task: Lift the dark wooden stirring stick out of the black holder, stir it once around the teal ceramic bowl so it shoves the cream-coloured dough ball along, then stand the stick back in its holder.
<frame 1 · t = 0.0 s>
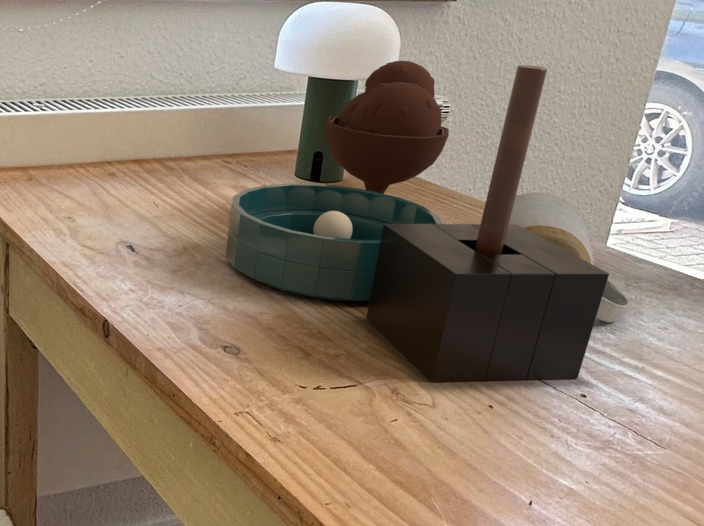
bowl: (325, 269, 71), on the table
stick: (496, 216, 55), in the holder
ceramic mug: (541, 307, 67), on the table
ice cream bowl: (368, 227, 84), on the table
dough ball: (332, 230, 74), point 2 cm above the table, touching bowl
holder: (465, 346, 59), on the table
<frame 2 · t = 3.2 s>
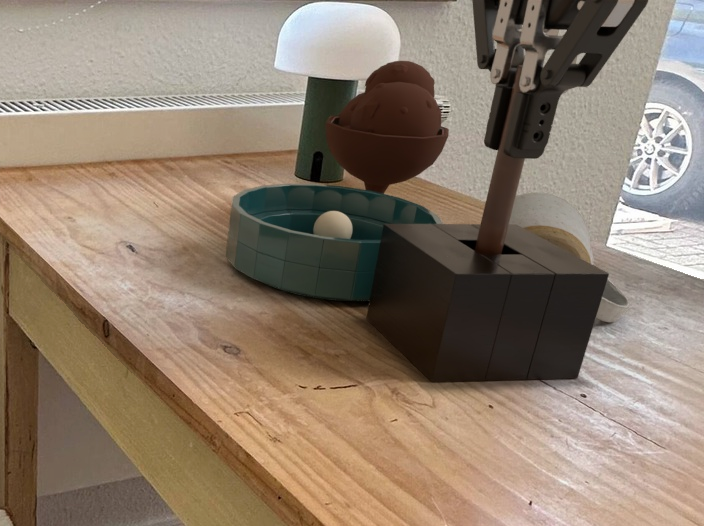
hand: (511, 151, 53), 13 cm above the table, tool pointing down, fingers closed on stick, 1 cm apart
stick: (496, 216, 55), in the holder, touching gripper
everything else where it was.
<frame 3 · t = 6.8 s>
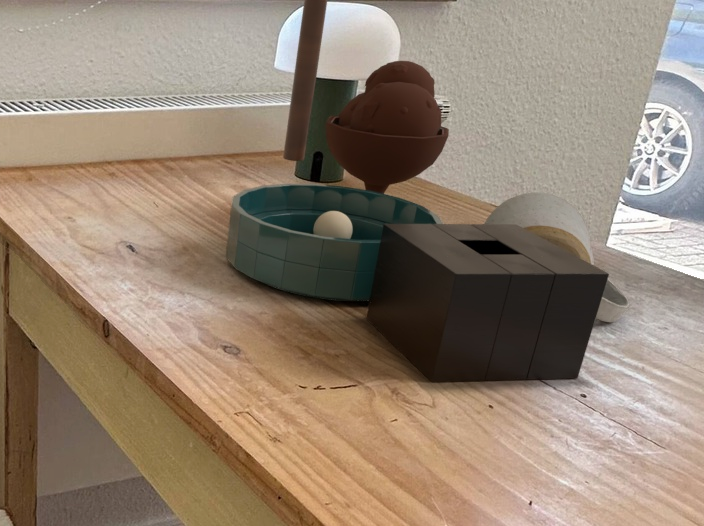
stick: (310, 34, 63), point 18 cm above the table, touching gripper
everything else where it was.
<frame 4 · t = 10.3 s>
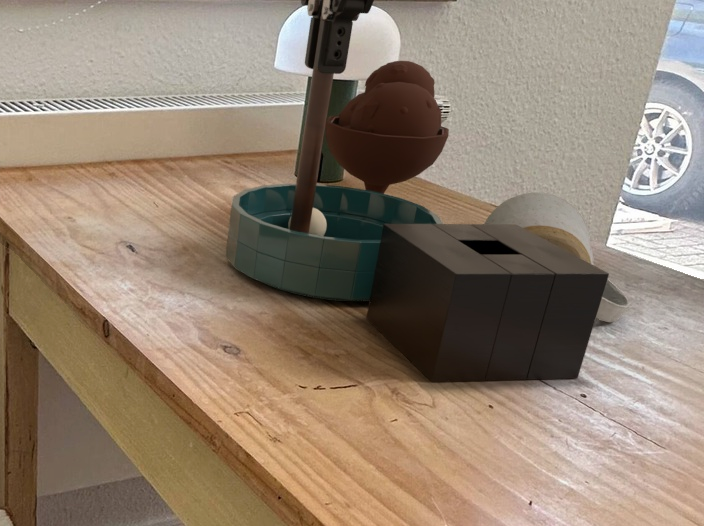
hand: (323, 69, 67), 15 cm above the table, tool pointing down, fingers closed on stick, 1 cm apart
stick: (315, 123, 69), in the bowl, point 11 cm above the table, touching gripper
dough ball: (307, 225, 75), point 2 cm above the table, tilted 40°, touching bowl
everything else where it was.
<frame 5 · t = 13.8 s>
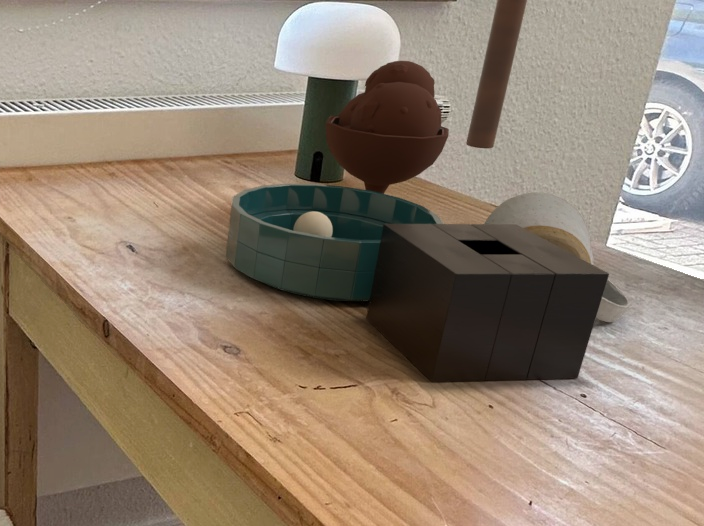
dough ball: (312, 230, 74), point 2 cm above the table, tilted 20°, touching bowl
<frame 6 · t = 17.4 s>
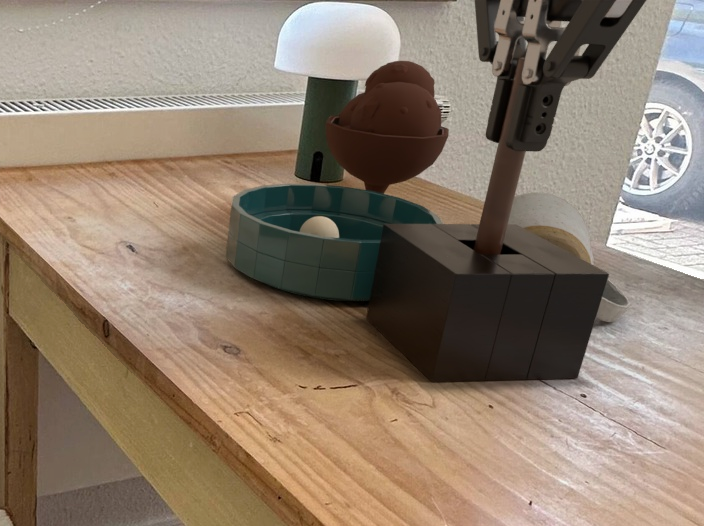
hand: (513, 144, 53), 13 cm above the table, tool pointing down, fingers closed on stick, 1 cm apart
stick: (497, 209, 55), in the holder, touching gripper
dough ball: (318, 235, 72), point 2 cm above the table, tilted 62°, touching bowl
everything else where it was.
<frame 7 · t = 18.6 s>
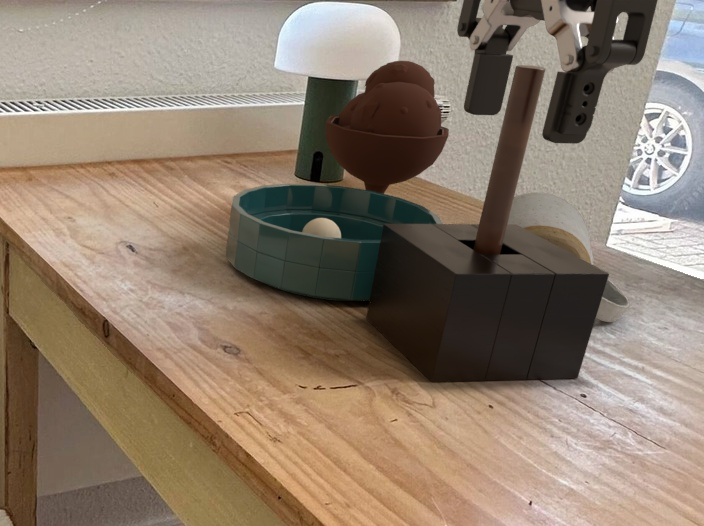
hand: (518, 127, 53), 15 cm above the table, tool pointing down, fingers open, 8 cm apart
stick: (495, 216, 55), in the holder
dough ball: (320, 237, 72), point 2 cm above the table, tilted 78°, touching bowl
everything else where it was.
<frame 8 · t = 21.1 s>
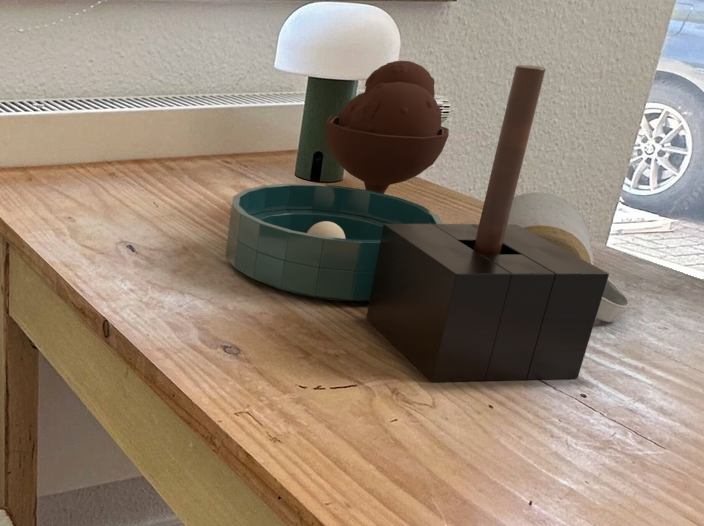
dough ball: (325, 241, 71), point 2 cm above the table, tilted 111°, touching bowl
everything else where it was.
at the end: dough ball moved 3.5 cm from its start; stick 0.1 cm off-centre in the holder, point 9.0 cm above the holder's base; the gripper is holding nothing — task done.
